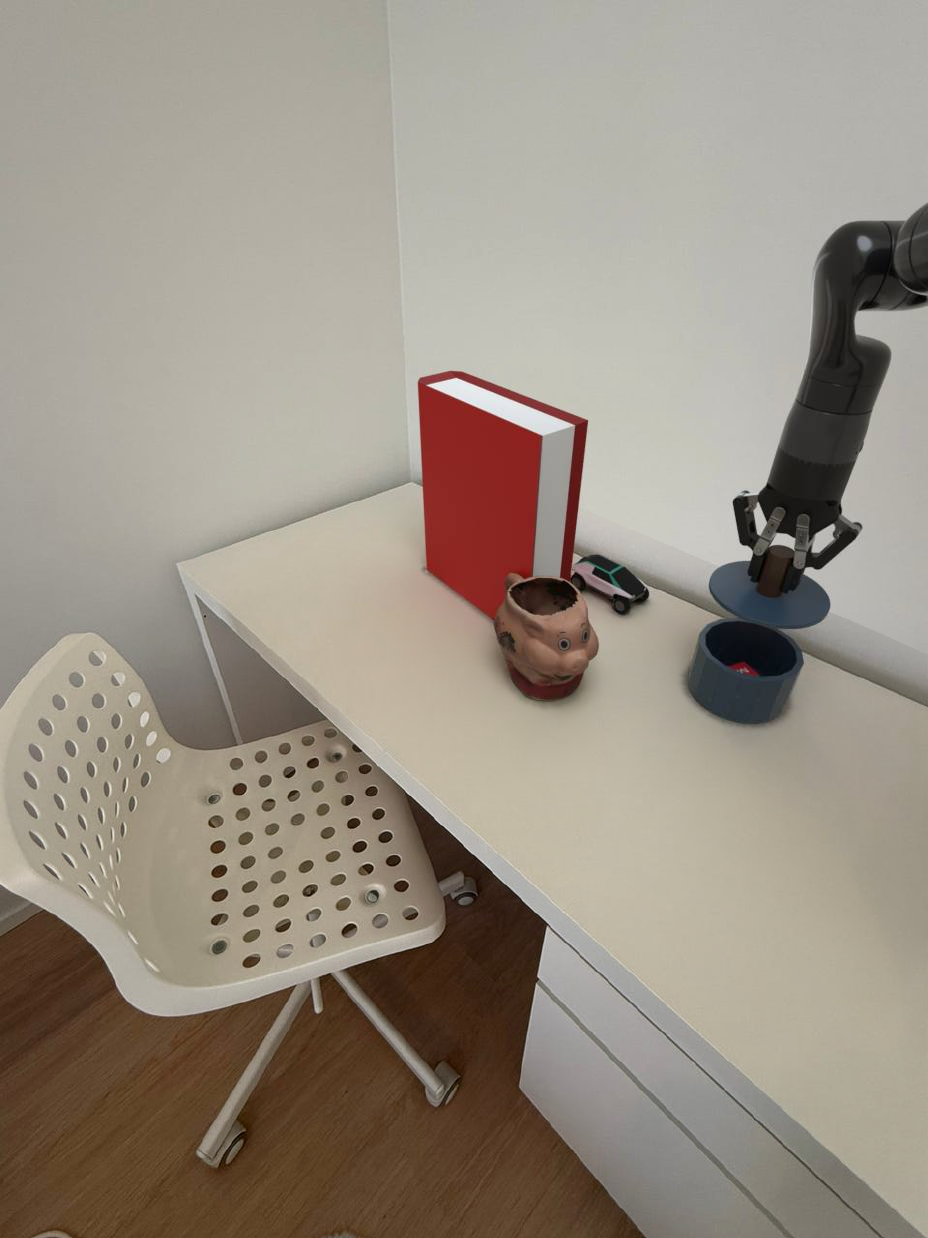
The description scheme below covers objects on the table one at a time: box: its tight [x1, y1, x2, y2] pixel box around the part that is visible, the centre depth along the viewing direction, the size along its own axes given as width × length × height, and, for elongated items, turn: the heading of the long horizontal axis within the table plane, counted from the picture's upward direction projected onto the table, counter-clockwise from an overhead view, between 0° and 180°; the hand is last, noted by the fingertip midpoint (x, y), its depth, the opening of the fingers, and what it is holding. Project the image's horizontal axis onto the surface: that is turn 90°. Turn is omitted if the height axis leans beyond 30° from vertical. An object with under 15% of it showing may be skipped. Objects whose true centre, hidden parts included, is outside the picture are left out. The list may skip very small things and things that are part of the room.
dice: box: [729, 662, 760, 676], centre depth 86 cm, size 3×3×3 cm
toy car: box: [570, 554, 650, 615], centre depth 104 cm, size 6×12×5 cm, turn 42°
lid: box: [708, 544, 832, 630], centre depth 76 cm, size 14×14×7 cm
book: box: [417, 370, 589, 621], centre depth 97 cm, size 27×8×32 cm, turn 37°
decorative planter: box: [493, 573, 600, 701], centre depth 87 cm, size 20×12×14 cm, turn 30°
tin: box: [687, 617, 805, 725], centre depth 85 cm, size 13×13×8 cm
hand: (771, 584), depth 77 cm, fingers closed on lid, 3 cm apart
